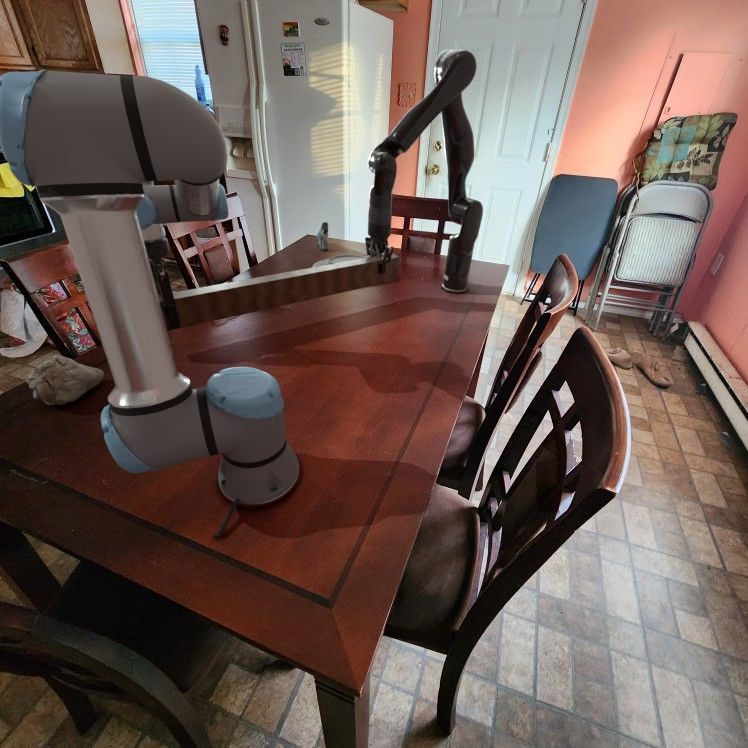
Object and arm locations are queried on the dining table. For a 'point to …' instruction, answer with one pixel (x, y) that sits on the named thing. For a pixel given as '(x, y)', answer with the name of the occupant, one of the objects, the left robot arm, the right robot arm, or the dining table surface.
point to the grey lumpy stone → (62, 380)
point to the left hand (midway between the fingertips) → (173, 323)
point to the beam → (278, 290)
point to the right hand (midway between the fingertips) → (377, 271)
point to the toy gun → (323, 236)
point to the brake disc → (337, 260)
